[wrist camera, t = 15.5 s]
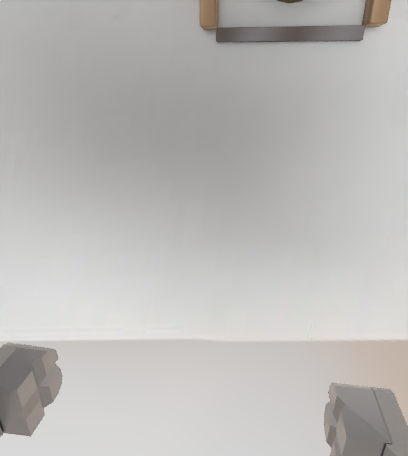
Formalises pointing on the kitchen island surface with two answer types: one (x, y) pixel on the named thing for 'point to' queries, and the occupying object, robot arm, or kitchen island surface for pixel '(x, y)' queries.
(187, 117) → the kitchen island surface
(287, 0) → the cork
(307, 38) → the bay
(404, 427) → the robot arm
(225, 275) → the kitchen island surface
